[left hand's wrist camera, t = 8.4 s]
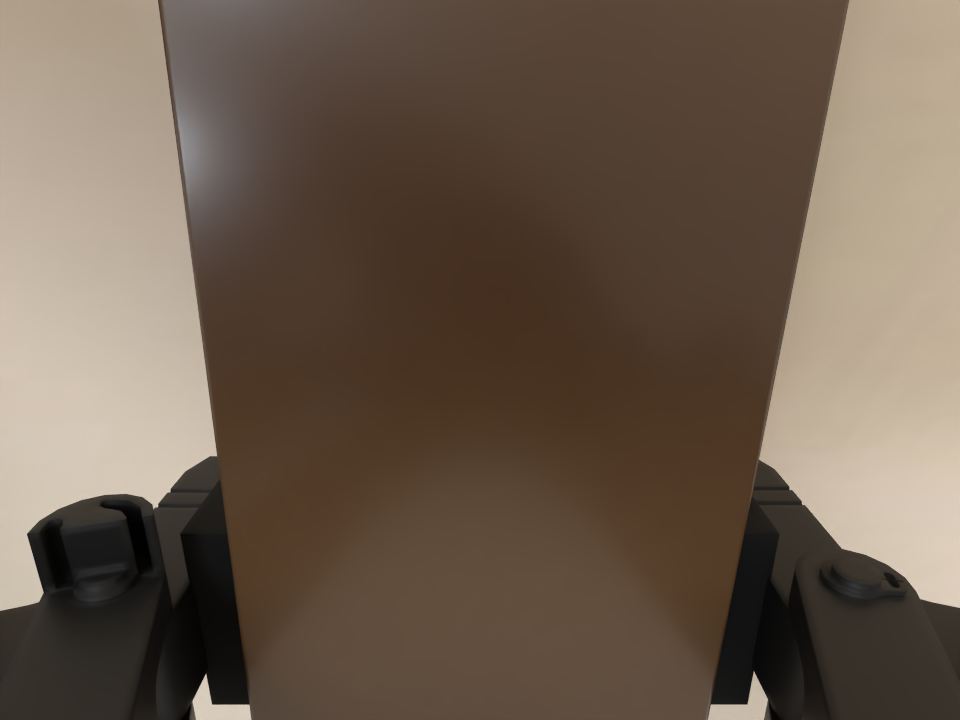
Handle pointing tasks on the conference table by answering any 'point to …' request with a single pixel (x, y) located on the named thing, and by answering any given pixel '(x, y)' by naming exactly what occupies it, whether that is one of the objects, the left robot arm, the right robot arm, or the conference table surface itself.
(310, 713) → the beam
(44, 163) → the conference table surface
